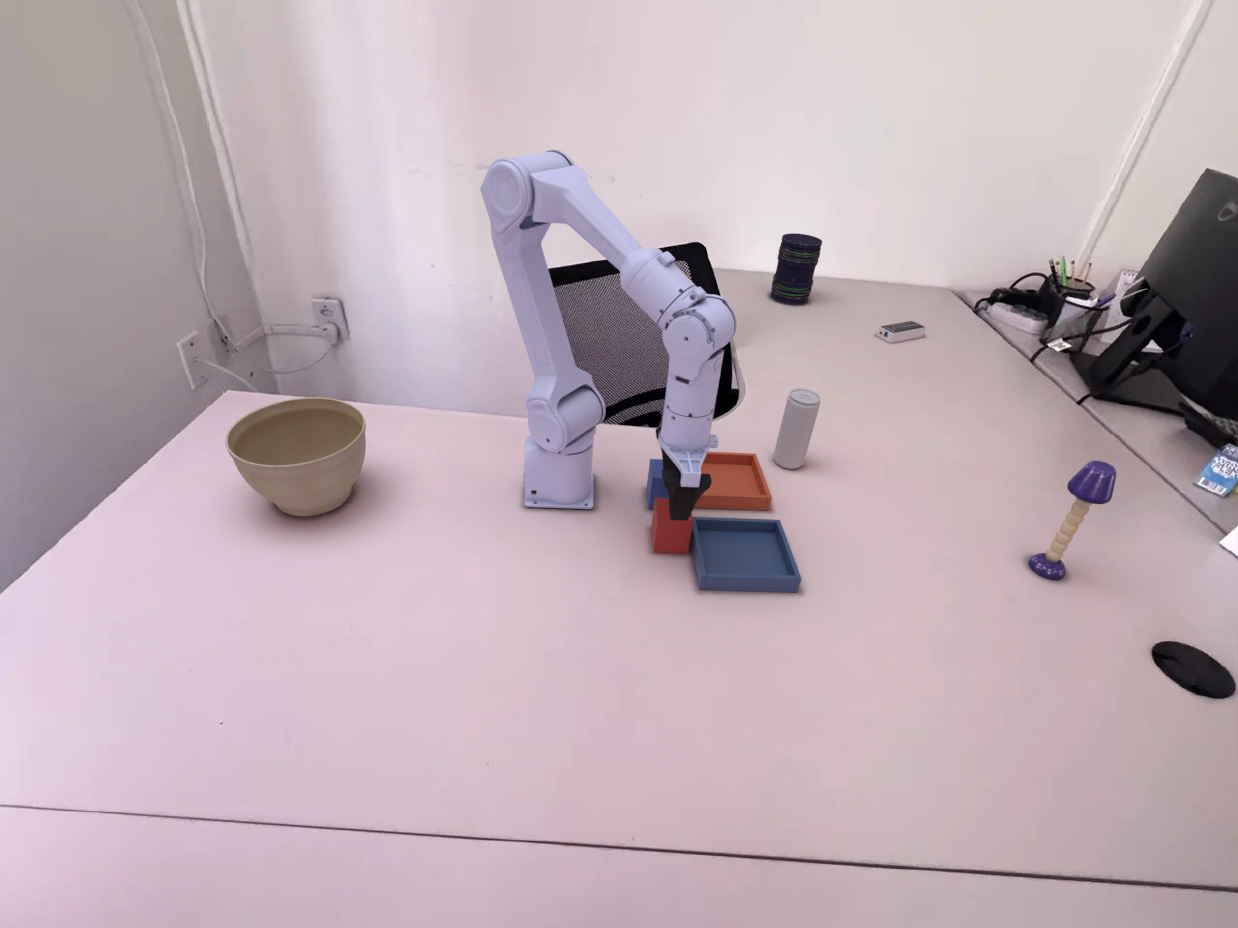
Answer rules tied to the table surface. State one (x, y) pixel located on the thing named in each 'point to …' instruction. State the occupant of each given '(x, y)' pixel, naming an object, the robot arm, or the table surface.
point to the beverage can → (796, 428)
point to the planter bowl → (300, 452)
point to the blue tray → (743, 555)
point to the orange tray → (734, 482)
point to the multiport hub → (901, 331)
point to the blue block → (655, 482)
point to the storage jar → (795, 268)
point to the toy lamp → (1076, 514)
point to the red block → (669, 530)
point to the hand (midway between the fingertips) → (675, 499)
